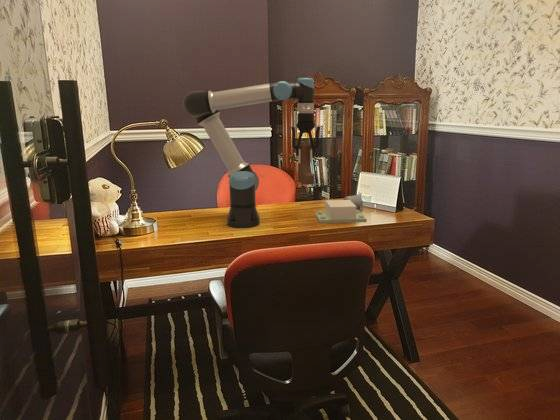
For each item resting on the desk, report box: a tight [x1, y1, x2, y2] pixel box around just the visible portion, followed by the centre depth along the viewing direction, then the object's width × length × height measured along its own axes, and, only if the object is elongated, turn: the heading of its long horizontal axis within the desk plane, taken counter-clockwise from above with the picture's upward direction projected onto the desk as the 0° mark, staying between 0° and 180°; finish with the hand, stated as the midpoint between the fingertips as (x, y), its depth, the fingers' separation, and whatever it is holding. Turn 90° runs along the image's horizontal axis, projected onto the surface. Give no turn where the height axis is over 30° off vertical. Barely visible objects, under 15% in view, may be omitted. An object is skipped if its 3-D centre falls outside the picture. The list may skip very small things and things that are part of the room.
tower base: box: [314, 199, 368, 224], centre depth 212 cm, size 22×14×8 cm, turn 94°
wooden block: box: [297, 144, 315, 186], centre depth 211 cm, size 9×4×18 cm, turn 23°
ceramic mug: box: [343, 194, 364, 213], centre depth 227 cm, size 11×8×8 cm
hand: (305, 162), depth 211 cm, fingers closed on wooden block, 5 cm apart
